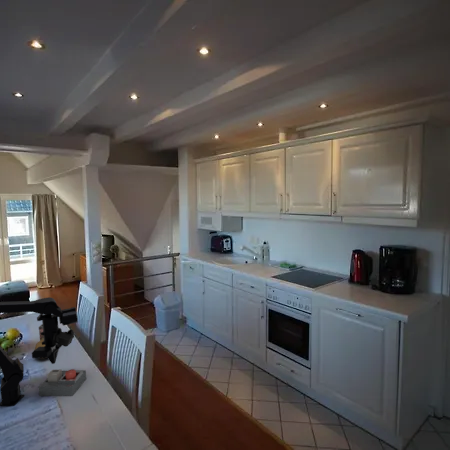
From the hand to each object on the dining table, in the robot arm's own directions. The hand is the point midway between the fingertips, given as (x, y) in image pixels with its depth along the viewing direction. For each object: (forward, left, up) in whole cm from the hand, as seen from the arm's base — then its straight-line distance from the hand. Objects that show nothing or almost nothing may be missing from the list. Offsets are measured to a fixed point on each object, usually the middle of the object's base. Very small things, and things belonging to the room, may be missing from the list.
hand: (53, 363), depth 135 cm
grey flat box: (0, -4, -11) cm, 11 cm away
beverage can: (+40, +27, -11) cm, 49 cm away
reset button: (0, -7, -9) cm, 11 cm away
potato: (+27, +21, -11) cm, 36 cm away
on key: (0, 0, -9) cm, 9 cm away
